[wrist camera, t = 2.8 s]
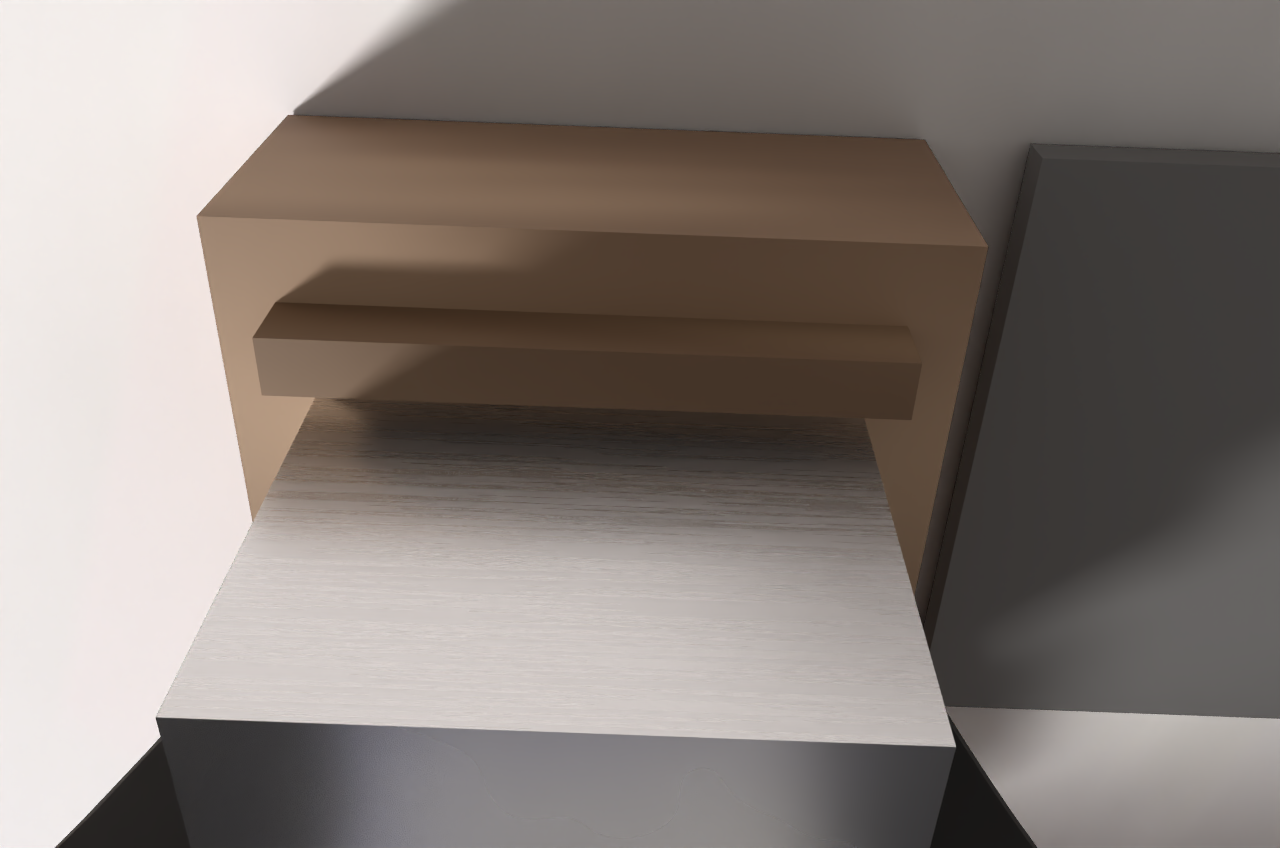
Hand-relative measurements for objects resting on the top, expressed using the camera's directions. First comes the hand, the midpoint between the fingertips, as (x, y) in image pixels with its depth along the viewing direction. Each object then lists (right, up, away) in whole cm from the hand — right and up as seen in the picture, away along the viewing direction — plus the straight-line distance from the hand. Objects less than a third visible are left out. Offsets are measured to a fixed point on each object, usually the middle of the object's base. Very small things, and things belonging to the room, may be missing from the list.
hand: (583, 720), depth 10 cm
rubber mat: (+7, +2, +2) cm, 8 cm away
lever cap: (0, 0, +1) cm, 1 cm away
